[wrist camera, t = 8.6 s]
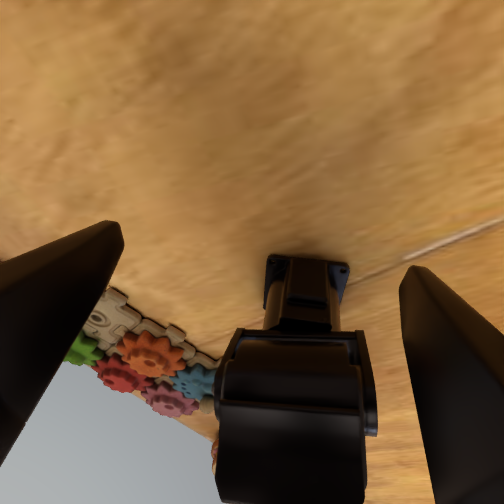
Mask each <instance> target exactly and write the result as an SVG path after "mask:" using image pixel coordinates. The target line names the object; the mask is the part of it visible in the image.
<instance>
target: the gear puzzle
mask: <svg viewBox="0 0 504 504" xmlns="http://www.w3.org/2000/svg"><path fill="white" fill-rule="evenodd" d="M127 300H128V299H127V298H126V297H125V296H123V295H121V294H120V293H118V292H117V291H115V290H113V289H112V288H109V289H108V290H107V291H106V292H104V293H103V294H102V296H101V298H100V300H99V301H98V303H97V305H96V306H95V308H94V310H93V311H92V313H91V315H90V316H89V318H88V320H87V321H86V323H85V325H84V326H83V328H82V330H81V332H80V333H79V335H78V337H77V338H76V340H75V342H74V343H73V345H72V347H71V348H70V350H69V352H68V353H67V355H66V357H65V358H64V360H63V361H64V362H65V361H69V362H70V363H72V364H75V365H78V366H81V365H83V364H87V365H91V367H92V368H93V369H94V370H95V371H96V372H98V378H100V379H101V380H102V381H104V382H103V384H104V385H105V386H108V387H110V388H111V389H112V390H117V391H119V392H121V393H124V392H129V393H131V392H133V391H134V389H135V390H139V391H141V395H142V396H143V397H144V398H146V399H147V400H146V403H147V404H149V405H150V406H151V407H153V411H155V412H158V413H159V414H160V415H165V416H168V417H170V418H171V417H180V416H181V415H182V414H185V415H192V412H193V411H194V410H198V409H199V408H200V410H201V411H202V412H203V413H205V414H209V413H211V412H213V410H214V396H213V394H212V392H211V387H212V384H213V382H214V376H215V373H216V371H217V369H218V366H219V364H220V362H221V360H222V358H221V359H219V360H218V362H215V361H213V360H212V359H210V358H209V357H207V356H205V355H204V354H202V353H195V348H193V347H192V346H191V345H189V344H187V343H186V342H184V339H185V337H186V335H185V334H184V333H182V332H181V331H179V330H178V329H176V328H175V327H173V326H171V325H170V326H168V328H167V330H166V329H163V328H162V327H160V326H159V325H157V324H155V323H154V322H152V321H150V320H149V319H143V320H142V319H141V315H140V314H139V313H137V312H135V311H134V310H132V309H131V308H129V307H127V306H126V305H125V304H126V302H127Z"/></svg>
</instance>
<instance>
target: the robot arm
mask: <svg viewBox="0 0 504 504" xmlns="http://www.w3.org/2000/svg"><path fill="white" fill-rule="evenodd" d="M123 250H124V239H123V235H122V231H121V227H120V225H119V223H118V222H115V221H108V220H104V221H102V222H99V223H97V224H94V225H92V226H90V227H87V228H85V229H82V230H80V231H77V232H75V233H73V234H70V235H68V236H65V237H63V238H61V239H58V240H56V241H53V242H51V243H48V244H46V245H44V246H41V247H39V248H36V249H34V250H32V251H29V252H27V253H24V254H22V255H20V256H17V257H15V258H12V259H10V260H7V261H5V262H3V263H0V467H1V465H2V463H3V462H4V460H5V458H6V456H7V454H8V453H9V451H10V450H11V448H12V446H13V445H14V443H15V441H16V440H17V438H18V436H19V434H20V433H21V431H22V430H23V428H24V426H25V424H26V423H25V422H27V421H28V419H29V417H30V416H31V414H32V412H33V411H34V409H35V407H36V406H37V404H38V402H39V401H40V399H41V397H42V396H43V394H44V392H45V390H46V389H47V387H48V385H49V384H50V382H51V380H52V379H53V377H54V375H55V374H56V372H57V370H58V368H59V367H60V365H61V363H62V362H63V360H64V358H65V357H66V355H67V353H68V352H69V350H70V348H71V347H72V345H73V343H74V342H75V340H76V338H77V337H78V335H79V333H80V332H81V330H82V328H83V326H84V325H85V323H86V321H87V320H88V318H89V316H90V315H91V313H92V311H93V310H94V308H95V306H96V305H97V303H98V301H99V300H100V298H101V296H102V294H103V293H104V291H105V289H106V287H107V285H108V283H109V281H110V279H111V277H112V274H113V272H114V270H115V268H116V265H117V263H118V261H119V259H120V256H121V254H122V252H123ZM271 260H274V261H275V262H273V261H271ZM341 269H345V270H341ZM349 273H350V268H349V265H348V264H346V263H339V262H331V261H323V260H315V259H306V258H298V257H290V256H282V255H269V256H268V258H267V263H266V277H265V291H264V304H263V308H264V310H266V311H265V317H264V323H263V329H262V330H255V329H245V328H237V329H236V331H235V333H234V335H233V337H232V339H231V341H230V343H229V345H228V347H227V349H226V351H225V354H224V356H223V358H222V360H221V362H220V364H219V366H218V369H217V371H216V373H215V376H214V382H213V384H212V387H211V392H212V394H213V396H214V410H215V415H216V418H217V420H218V421H219V422H220V423H219V442H218V452H217V461H216V469H215V482H216V485H217V489H218V492H219V496H220V499H221V501H222V502H223V503H229V504H363V503H364V499H365V489H366V486H367V465H366V447H365V436H374V437H377V431H378V415H377V400H376V390H375V382H374V376H373V371H372V366H371V362H370V357H369V353H368V348H367V344H366V339H365V335H364V330H355V332H350V331H341V326H340V311H339V305H340V302H341V299H342V296H343V292H344V289H345V286H346V283H347V279H348V276H349ZM399 302H400V316H401V330H402V339H403V344H404V349H405V354H406V359H407V364H408V369H409V374H410V379H411V384H412V389H413V394H414V399H415V404H416V409H417V414H418V419H419V424H420V429H421V434H422V439H423V444H424V449H425V454H426V459H427V464H428V469H429V474H430V479H431V484H432V489H433V494H434V499H435V504H504V335H503V334H502V333H501V332H500V331H499V330H498V329H496V328H495V327H494V326H493V325H492V324H491V323H490V322H488V321H487V320H486V319H485V318H484V317H483V316H482V315H480V314H479V313H478V312H477V311H476V310H475V309H474V308H472V307H471V306H470V305H469V304H468V303H467V302H466V301H464V300H463V299H462V298H461V297H460V296H459V295H458V294H456V293H455V292H454V291H453V290H452V289H451V288H450V287H448V286H447V285H446V284H445V283H444V282H443V281H442V280H440V279H439V278H438V277H437V276H436V275H435V274H434V273H432V272H431V271H430V270H429V269H428V268H426V267H422V266H415V265H412V266H410V267H409V268H408V270H407V272H406V274H405V276H404V278H403V280H402V282H401V284H400V287H399Z"/></svg>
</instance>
